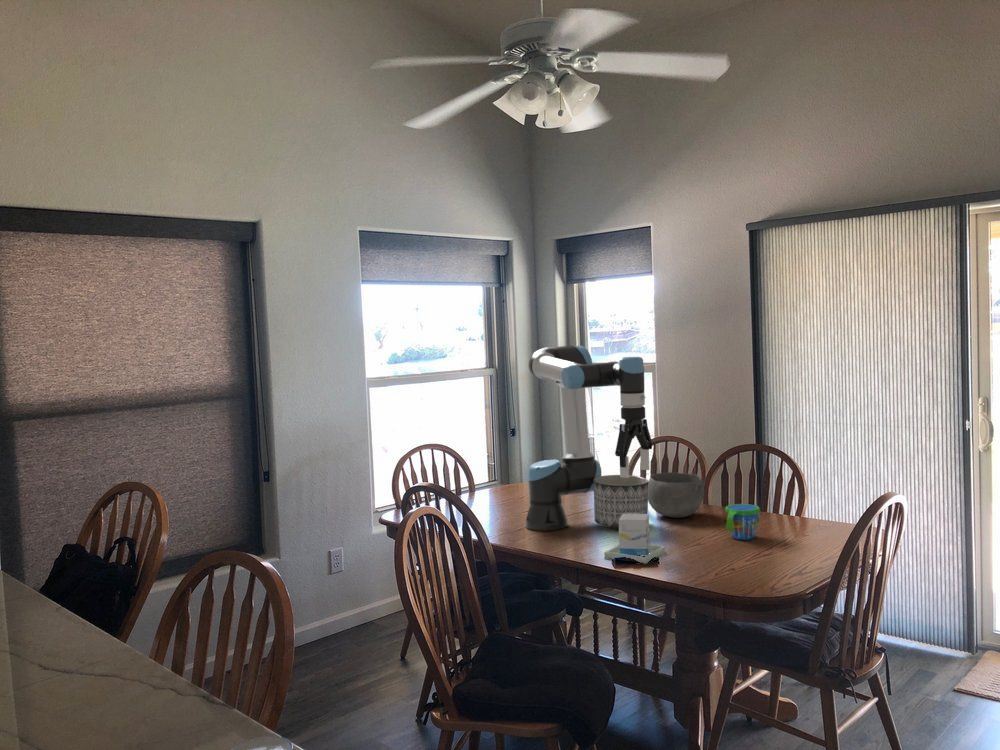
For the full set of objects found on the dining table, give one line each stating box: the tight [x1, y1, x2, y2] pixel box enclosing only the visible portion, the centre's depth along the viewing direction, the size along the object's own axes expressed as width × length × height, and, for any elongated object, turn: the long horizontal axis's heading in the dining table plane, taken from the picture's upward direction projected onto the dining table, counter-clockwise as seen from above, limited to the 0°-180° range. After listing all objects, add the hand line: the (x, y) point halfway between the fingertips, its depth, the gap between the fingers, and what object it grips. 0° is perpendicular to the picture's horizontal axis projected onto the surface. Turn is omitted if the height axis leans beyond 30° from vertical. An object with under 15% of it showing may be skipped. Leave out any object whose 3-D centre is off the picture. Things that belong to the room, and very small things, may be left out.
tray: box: [603, 544, 667, 565], centre depth 255 cm, size 14×14×2 cm
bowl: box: [648, 472, 705, 519], centre depth 303 cm, size 20×20×15 cm
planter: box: [593, 474, 649, 530], centre depth 292 cm, size 19×19×16 cm
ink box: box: [618, 513, 651, 555], centre depth 255 cm, size 8×8×12 cm
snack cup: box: [725, 503, 761, 541], centre depth 269 cm, size 16×10×10 cm
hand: (635, 473), depth 259 cm, fingers open, 13 cm apart
